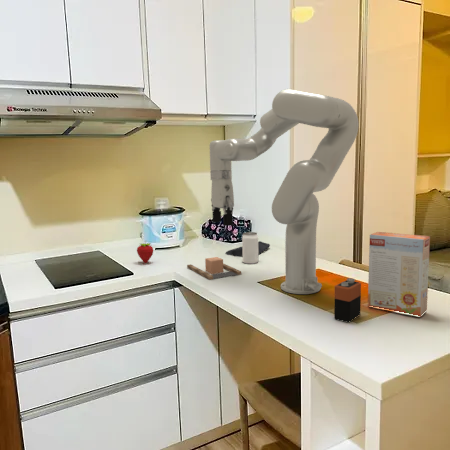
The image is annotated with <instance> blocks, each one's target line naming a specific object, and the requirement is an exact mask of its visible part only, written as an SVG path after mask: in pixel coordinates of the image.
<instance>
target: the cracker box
mask: <svg viewBox="0 0 450 450" xmlns="http://www.w3.org/2000/svg"><path fill="white" fill-rule="evenodd" d="M430 241H431V236H428V235H419V234H407V233H396V232H386V231H385V232H383V231H376V232H374V233H370V234H369V246H368V247H369V248H368V249H369V250H368V251H369V254H368V281H367V283H368V285H367V286H368V287H367V291H368V292H367V307H368V306H373V307H379V308H384V309H389V310H394V311H399V312H404V313H409V314H413V315H418V316H421V315H422V314H423V313H424V312H425V311H426V310H428V292H429V268H430V264H429V263H430V245H431V243H430Z"/></svg>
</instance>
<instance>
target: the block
mask: <svg viewBox="0 0 450 450" xmlns="http://www.w3.org/2000/svg"><path fill="white" fill-rule="evenodd" d="M204 260H205V261H204V262H205V272H206V273H208V274H210V275H212V274H218V273H224V268H223V263H224V259H222V258H221V257H219V256H214V257H208V258H206V257H205V259H204Z"/></svg>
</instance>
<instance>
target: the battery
mask: <svg viewBox="0 0 450 450" xmlns="http://www.w3.org/2000/svg"><path fill="white" fill-rule="evenodd" d="M361 295H362V283H361V282H359V281H356V279H355V278H353V277H349V278H346V280H345V281H342V282H340V283H337V284H335V285H334V305H333V306H334V313H333V315H334V317H333V318H334V319H335V320H337V319H339V320H338V321H340V320H343V321H342V322H344V321H347V322H346V323H350V322H352V321H353V320H355V319H356V318H355V317H357V316H358V315H360V316H361V304H362V303H361V299H362V298H361ZM358 317H359V316H358ZM358 317H357V318H358ZM354 318H355V319H354ZM352 319H353V320H352ZM351 320H352V321H351ZM349 321H350V322H349Z"/></svg>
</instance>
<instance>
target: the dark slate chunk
mask: <svg viewBox="0 0 450 450" xmlns="http://www.w3.org/2000/svg"><path fill="white" fill-rule="evenodd" d="M270 247H271V244H270V243H266V242H263V241H260V240H258V256H259V255H261V254H262V253H264V252H265V251H267V249H268V248H270ZM225 255H227V256H232V257H233V256H234V257H239V258H243V253H242V246H239V247H236V248H233V249H229V250H227V251H226V252H225Z"/></svg>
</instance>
